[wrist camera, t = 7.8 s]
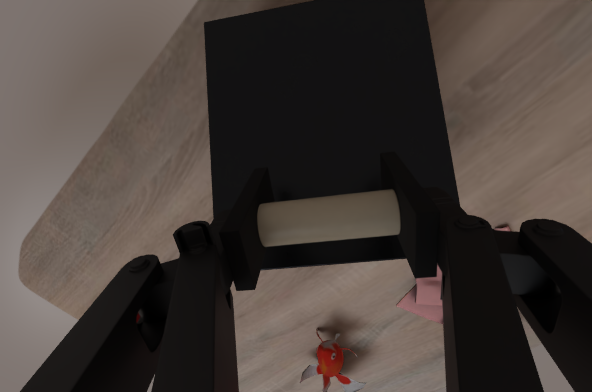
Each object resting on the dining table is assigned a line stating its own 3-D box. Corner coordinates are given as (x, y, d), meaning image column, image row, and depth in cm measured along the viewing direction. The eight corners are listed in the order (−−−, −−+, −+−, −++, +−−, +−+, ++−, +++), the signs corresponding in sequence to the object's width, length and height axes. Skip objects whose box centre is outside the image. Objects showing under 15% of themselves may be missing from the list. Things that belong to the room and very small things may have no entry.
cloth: (466, 343, 52) (473, 356, 50) (365, 288, 48) (367, 299, 46) (571, 267, 44) (584, 278, 42) (459, 192, 40) (467, 201, 38)
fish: (383, 342, 47) (365, 413, 41) (367, 361, 59) (352, 419, 53) (319, 313, 50) (294, 377, 44) (317, 338, 62) (297, 390, 56)
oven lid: (463, 252, 18) (542, 262, 11) (220, 272, 20) (155, 291, 13) (417, -12, 21) (457, -140, 14) (208, 29, 23) (148, -65, 16)
